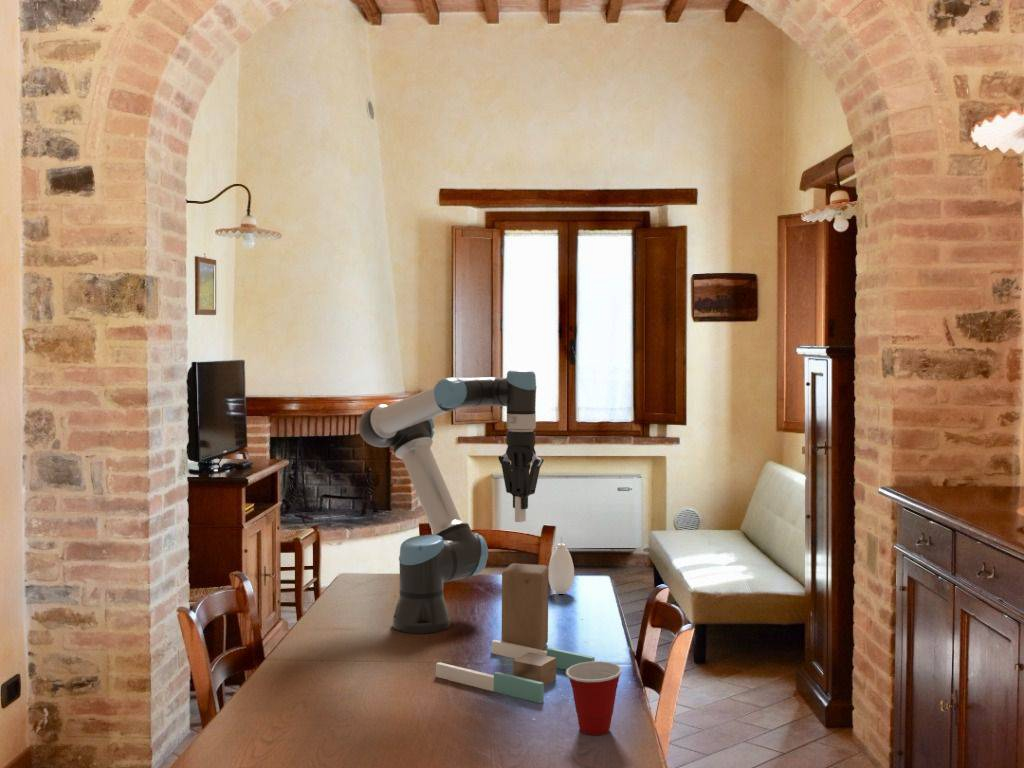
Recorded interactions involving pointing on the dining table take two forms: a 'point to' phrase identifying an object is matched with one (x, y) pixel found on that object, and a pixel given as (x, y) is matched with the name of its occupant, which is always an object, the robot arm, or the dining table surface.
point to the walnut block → (535, 667)
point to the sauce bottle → (561, 570)
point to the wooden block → (525, 605)
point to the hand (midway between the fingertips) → (520, 521)
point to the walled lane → (505, 681)
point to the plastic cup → (594, 694)
